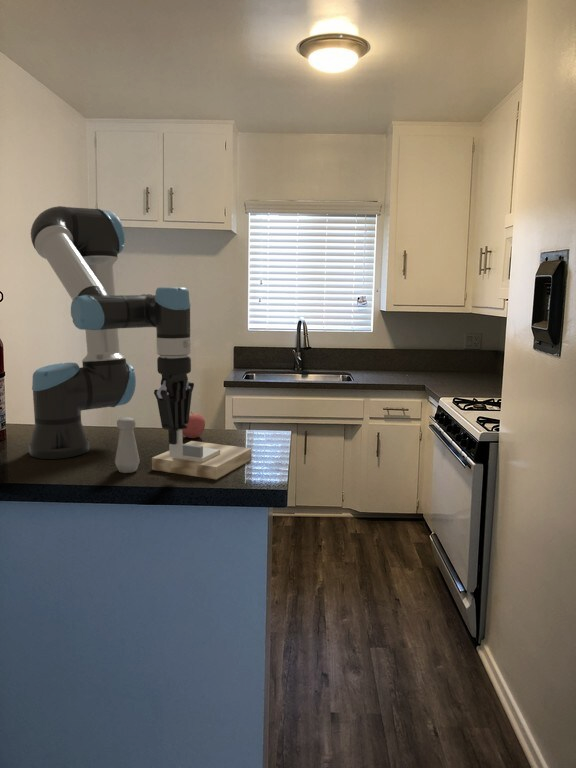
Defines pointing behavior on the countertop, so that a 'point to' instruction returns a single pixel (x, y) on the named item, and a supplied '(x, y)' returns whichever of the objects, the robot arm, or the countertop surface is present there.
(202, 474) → the socket board
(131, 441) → the salt shaker
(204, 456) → the shutter
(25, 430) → the countertop surface
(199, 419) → the apple
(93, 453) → the countertop surface
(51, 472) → the countertop surface
